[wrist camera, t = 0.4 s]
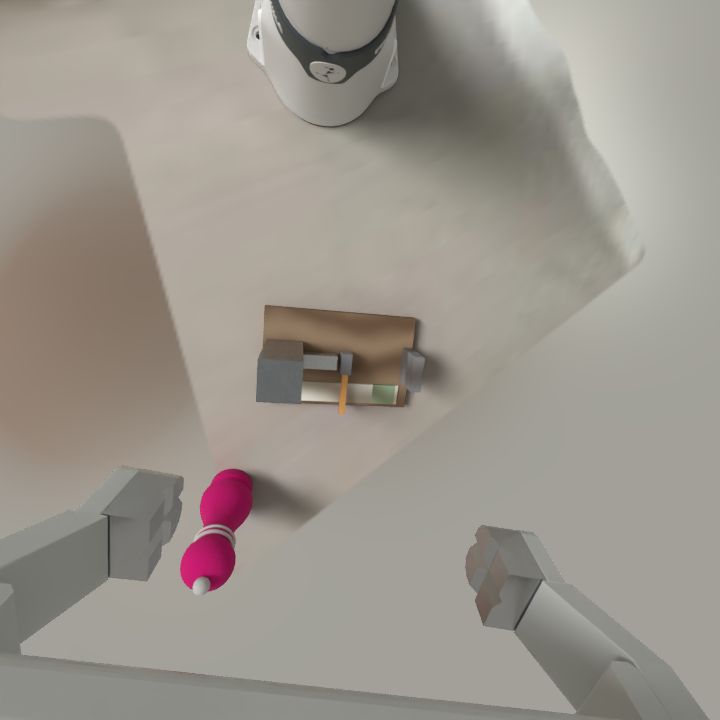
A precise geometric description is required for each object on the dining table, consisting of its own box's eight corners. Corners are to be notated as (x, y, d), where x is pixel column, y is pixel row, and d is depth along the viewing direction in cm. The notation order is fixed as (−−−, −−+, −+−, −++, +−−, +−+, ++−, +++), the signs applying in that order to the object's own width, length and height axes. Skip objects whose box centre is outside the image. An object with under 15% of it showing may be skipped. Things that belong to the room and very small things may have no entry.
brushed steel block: (266, 338, 52) (257, 358, 41) (337, 343, 54) (347, 364, 42) (265, 372, 53) (256, 401, 42) (334, 376, 55) (343, 405, 43)
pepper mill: (257, 467, 58) (237, 564, 39) (253, 507, 60) (231, 619, 41) (209, 464, 57) (164, 563, 38) (206, 505, 59) (161, 620, 39)
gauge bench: (265, 305, 53) (260, 311, 45) (413, 317, 57) (429, 324, 49) (261, 397, 56) (256, 417, 49) (401, 403, 60) (415, 422, 53)
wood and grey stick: (340, 350, 54) (342, 354, 52) (350, 351, 54) (352, 354, 52) (335, 408, 56) (336, 414, 54) (345, 408, 56) (346, 414, 54)
